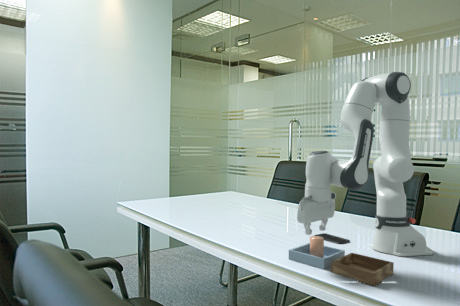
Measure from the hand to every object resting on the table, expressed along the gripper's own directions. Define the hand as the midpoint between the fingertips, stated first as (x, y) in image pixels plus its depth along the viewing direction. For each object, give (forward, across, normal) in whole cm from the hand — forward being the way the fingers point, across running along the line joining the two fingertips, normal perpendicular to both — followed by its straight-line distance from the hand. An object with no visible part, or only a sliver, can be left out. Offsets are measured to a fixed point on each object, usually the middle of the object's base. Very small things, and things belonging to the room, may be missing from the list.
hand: (315, 232), depth 129 cm
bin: (+11, +1, 0) cm, 11 cm away
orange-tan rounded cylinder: (+10, +1, 0) cm, 10 cm away
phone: (+11, +32, +11) cm, 35 cm away
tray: (+10, 0, -18) cm, 21 cm away
